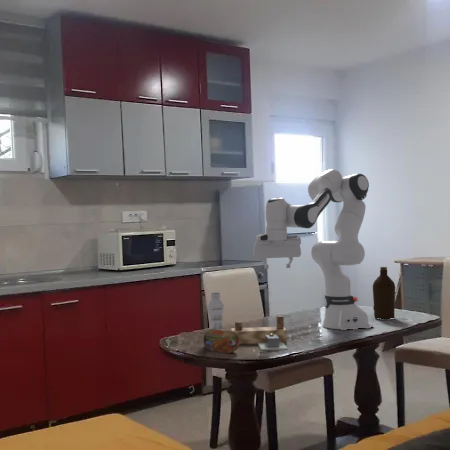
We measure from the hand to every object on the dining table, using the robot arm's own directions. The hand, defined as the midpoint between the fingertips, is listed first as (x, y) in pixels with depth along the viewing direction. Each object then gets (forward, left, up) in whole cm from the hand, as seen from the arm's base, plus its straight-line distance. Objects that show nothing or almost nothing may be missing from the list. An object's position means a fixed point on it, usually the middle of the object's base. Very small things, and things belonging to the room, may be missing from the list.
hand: (277, 268), depth 247 cm
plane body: (+10, +11, -29) cm, 32 cm away
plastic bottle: (+27, +10, -29) cm, 41 cm away
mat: (+6, +22, -29) cm, 36 cm away
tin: (+26, +26, -29) cm, 47 cm away
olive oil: (-57, -30, -29) cm, 71 cm away
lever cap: (+6, +22, -28) cm, 36 cm away
